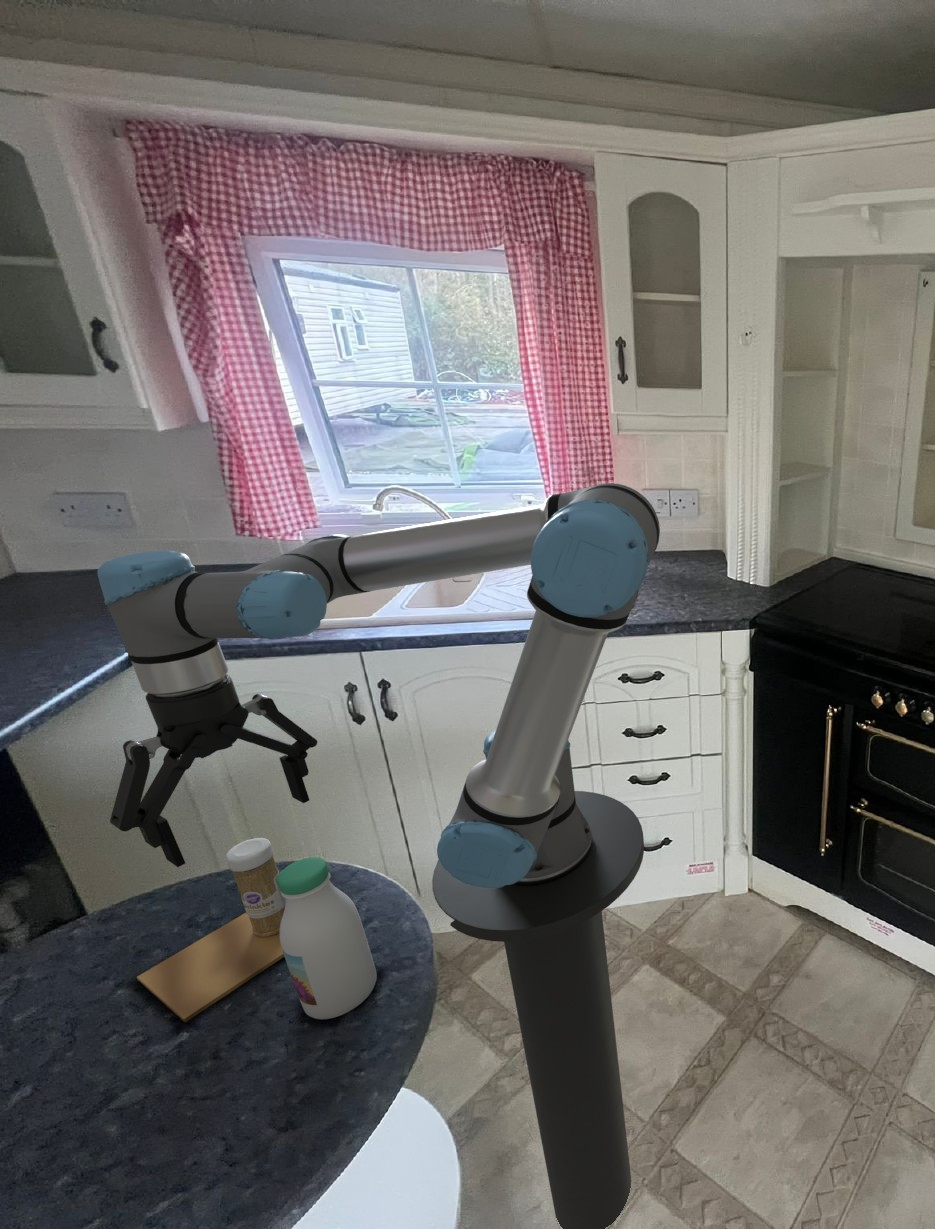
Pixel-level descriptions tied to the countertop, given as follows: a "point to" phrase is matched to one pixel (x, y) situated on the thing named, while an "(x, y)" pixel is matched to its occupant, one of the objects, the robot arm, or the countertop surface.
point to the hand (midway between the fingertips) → (242, 828)
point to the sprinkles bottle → (258, 884)
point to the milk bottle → (323, 941)
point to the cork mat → (211, 967)
